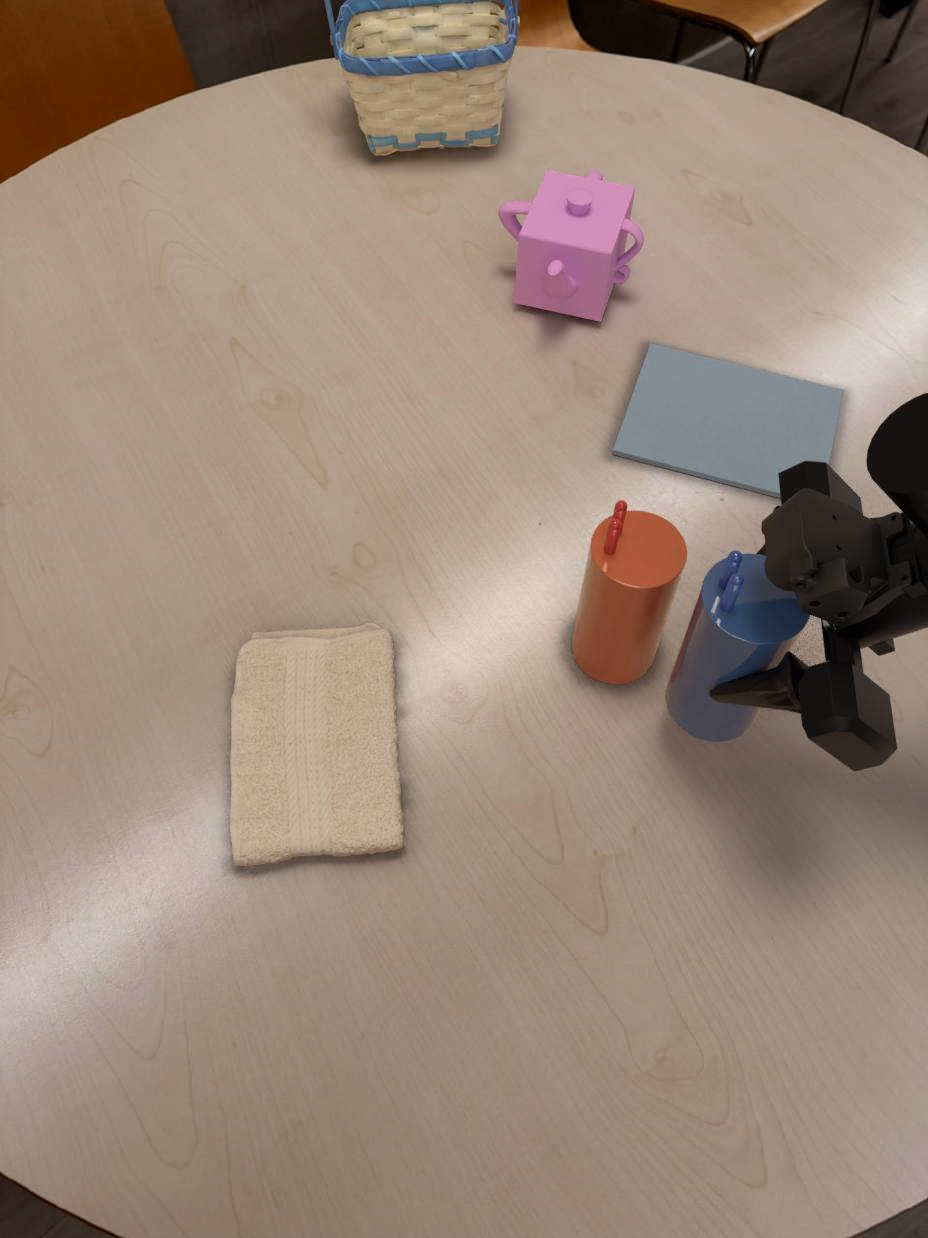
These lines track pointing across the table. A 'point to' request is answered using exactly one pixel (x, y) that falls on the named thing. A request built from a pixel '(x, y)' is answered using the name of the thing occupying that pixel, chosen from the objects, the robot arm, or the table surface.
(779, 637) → the blue spoon jar
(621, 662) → the red spoon jar
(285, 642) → the washcloth
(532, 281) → the teapot
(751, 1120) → the table surface
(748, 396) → the blue mat
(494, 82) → the basket
